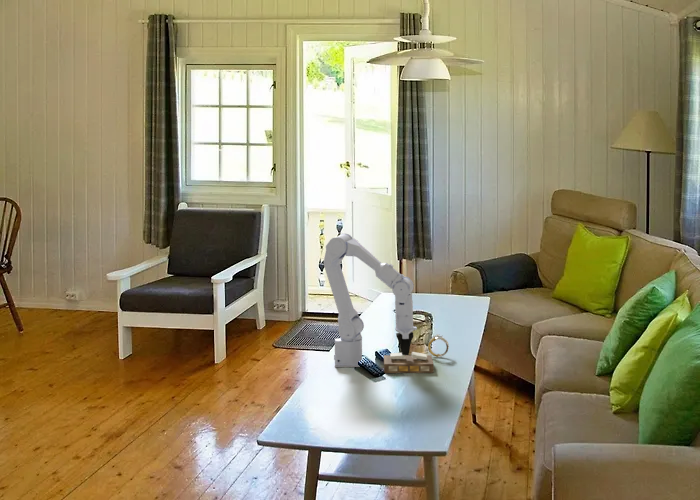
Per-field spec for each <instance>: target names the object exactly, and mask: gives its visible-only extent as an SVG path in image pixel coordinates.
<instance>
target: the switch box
mask: <svg viewBox="0 0 700 500" xmlns="http://www.w3.org/2000/svg"><path fill="white" fill-rule="evenodd" d="M426 355H427V359H426V360H423V359H417V358H412V354H411V355H405V359H391V357H390V354H389V355H387V354H385V355H383V368H384V369H383V370H384V374H433V373H434V361H433V355H432V354H429V355H428V354H426Z"/></svg>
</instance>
